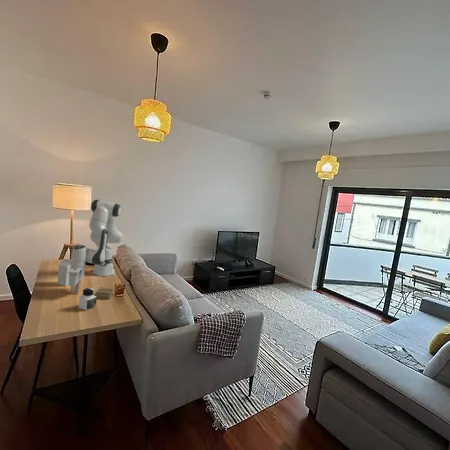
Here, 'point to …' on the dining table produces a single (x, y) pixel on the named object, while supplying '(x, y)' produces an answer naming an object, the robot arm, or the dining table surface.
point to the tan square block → (104, 293)
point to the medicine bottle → (87, 299)
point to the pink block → (78, 287)
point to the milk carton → (64, 272)
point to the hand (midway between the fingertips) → (76, 287)
